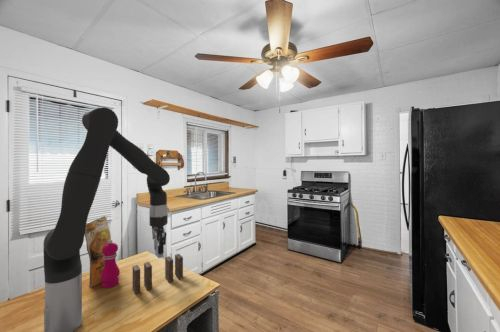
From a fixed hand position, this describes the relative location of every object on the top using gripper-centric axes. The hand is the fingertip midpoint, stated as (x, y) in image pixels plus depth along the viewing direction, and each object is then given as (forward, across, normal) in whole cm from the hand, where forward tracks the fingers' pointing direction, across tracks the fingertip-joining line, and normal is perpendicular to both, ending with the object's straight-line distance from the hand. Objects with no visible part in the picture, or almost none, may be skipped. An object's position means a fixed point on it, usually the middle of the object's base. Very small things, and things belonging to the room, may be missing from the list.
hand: (158, 251), depth 97 cm
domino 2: (+14, 0, -5) cm, 15 cm away
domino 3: (+2, 0, 0) cm, 2 cm away
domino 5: (+15, 0, +9) cm, 17 cm away
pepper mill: (+15, -13, -17) cm, 26 cm away
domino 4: (+15, 0, +4) cm, 15 cm away
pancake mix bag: (+15, -22, -20) cm, 33 cm away
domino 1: (+14, 0, -9) cm, 17 cm away
